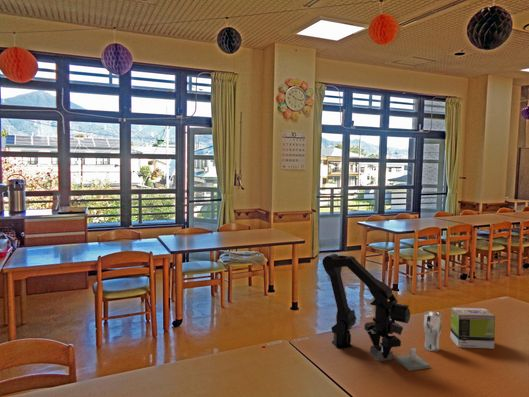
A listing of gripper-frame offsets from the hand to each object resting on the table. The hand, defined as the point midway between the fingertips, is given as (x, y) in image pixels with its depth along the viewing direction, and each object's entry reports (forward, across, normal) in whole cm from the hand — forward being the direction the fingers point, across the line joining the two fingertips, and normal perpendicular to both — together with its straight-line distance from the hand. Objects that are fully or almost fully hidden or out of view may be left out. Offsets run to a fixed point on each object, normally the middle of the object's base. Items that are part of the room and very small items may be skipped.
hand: (381, 354), depth 167 cm
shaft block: (+1, -8, -9) cm, 12 cm away
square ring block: (+1, 0, 0) cm, 1 cm away
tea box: (+1, +2, -45) cm, 45 cm away
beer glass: (+1, +2, -25) cm, 25 cm away
